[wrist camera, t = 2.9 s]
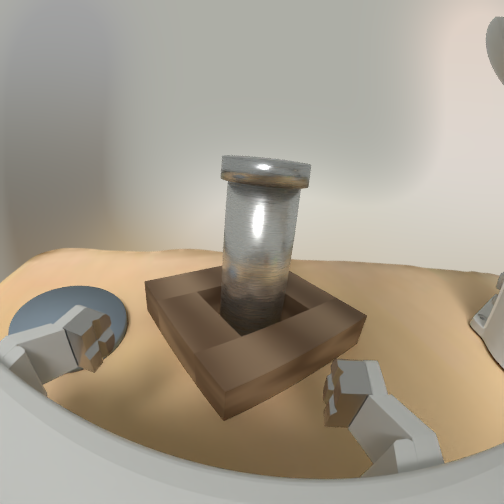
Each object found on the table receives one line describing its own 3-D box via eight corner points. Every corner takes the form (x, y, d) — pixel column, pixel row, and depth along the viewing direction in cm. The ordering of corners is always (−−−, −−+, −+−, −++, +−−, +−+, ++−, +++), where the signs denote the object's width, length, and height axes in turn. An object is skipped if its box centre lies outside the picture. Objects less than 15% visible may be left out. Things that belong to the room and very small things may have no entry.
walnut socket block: (262, 280, 32) (264, 257, 31) (356, 343, 22) (366, 315, 21) (147, 309, 24) (144, 281, 23) (223, 420, 14) (224, 391, 13)
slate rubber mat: (113, 284, 27) (112, 278, 27) (144, 354, 18) (143, 347, 18) (17, 302, 20) (15, 296, 20) (7, 383, 11) (3, 376, 11)
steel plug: (255, 305, 27) (271, 158, 22) (297, 337, 22) (329, 167, 17) (201, 321, 23) (206, 154, 18) (239, 363, 19) (259, 161, 14)
